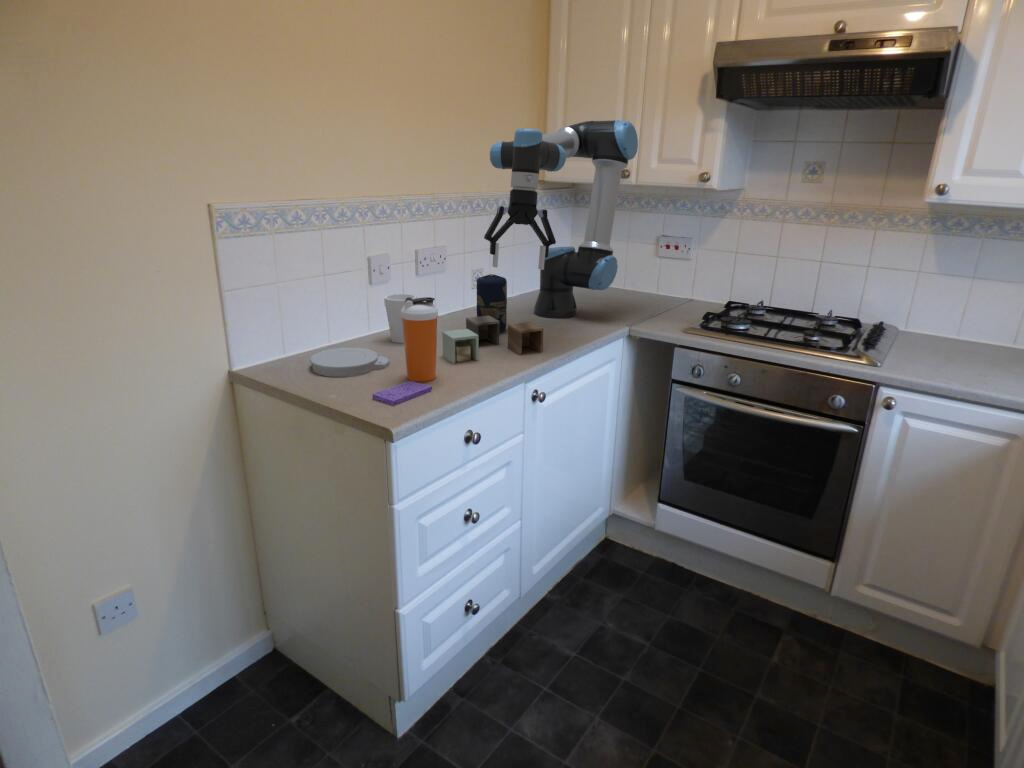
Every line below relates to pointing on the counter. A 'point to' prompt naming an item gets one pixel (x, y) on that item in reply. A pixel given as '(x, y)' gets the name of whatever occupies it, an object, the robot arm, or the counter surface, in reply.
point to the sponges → (401, 392)
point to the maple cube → (462, 351)
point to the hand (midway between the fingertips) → (518, 268)
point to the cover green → (459, 337)
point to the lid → (347, 362)
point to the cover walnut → (525, 336)
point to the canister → (492, 298)
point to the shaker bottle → (420, 338)
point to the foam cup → (396, 315)
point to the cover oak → (484, 327)
